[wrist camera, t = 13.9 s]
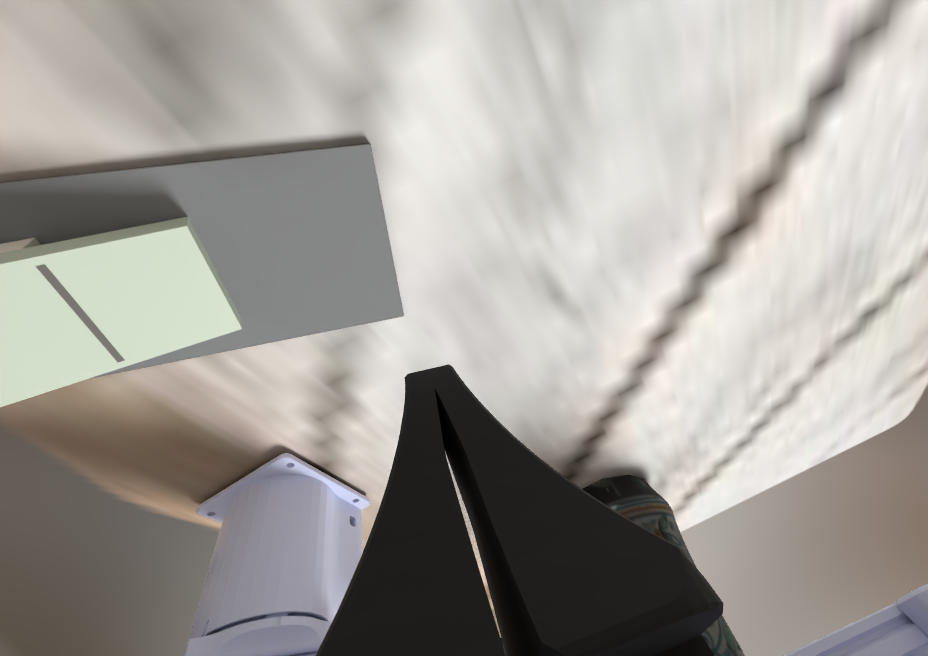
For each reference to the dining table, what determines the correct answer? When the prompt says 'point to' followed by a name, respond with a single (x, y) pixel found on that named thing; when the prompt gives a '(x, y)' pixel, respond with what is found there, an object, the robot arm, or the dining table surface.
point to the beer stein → (658, 518)
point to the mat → (242, 234)
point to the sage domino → (105, 305)
